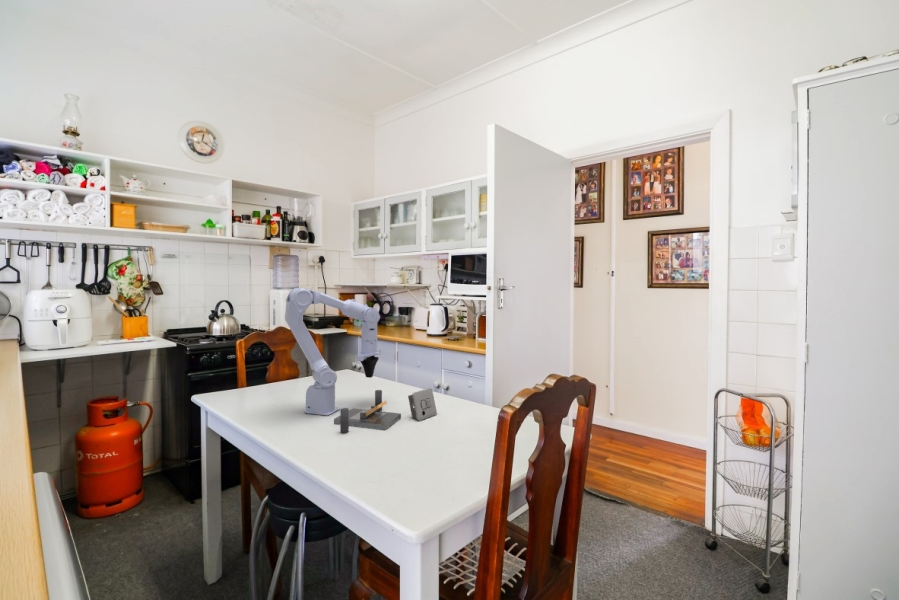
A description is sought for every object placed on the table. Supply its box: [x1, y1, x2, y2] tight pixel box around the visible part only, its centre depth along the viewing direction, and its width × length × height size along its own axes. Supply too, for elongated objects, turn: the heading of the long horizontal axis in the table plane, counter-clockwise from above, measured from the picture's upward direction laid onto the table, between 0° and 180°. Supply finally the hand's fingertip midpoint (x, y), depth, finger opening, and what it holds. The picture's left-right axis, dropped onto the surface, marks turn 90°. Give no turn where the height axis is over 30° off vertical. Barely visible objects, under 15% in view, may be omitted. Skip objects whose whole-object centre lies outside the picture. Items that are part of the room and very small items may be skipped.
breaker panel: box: [333, 405, 402, 431], centre depth 141 cm, size 18×12×4 cm, turn 73°
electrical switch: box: [407, 387, 438, 422], centre depth 147 cm, size 9×5×9 cm, turn 141°
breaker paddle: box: [365, 400, 388, 417], centre depth 141 cm, size 2×6×7 cm
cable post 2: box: [374, 389, 383, 412], centre depth 153 cm, size 2×2×7 cm
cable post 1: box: [339, 407, 350, 435], centre depth 131 cm, size 2×2×7 cm
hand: (369, 377), depth 159 cm, fingers closed
